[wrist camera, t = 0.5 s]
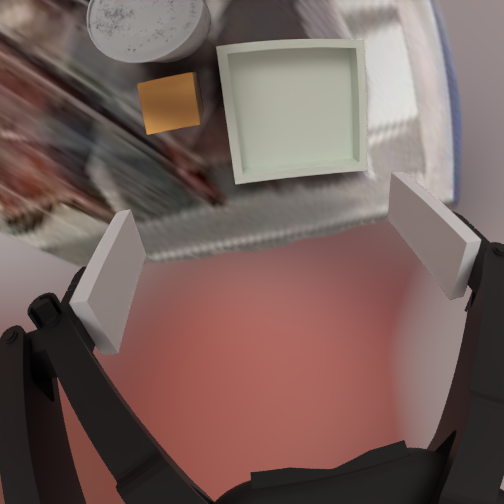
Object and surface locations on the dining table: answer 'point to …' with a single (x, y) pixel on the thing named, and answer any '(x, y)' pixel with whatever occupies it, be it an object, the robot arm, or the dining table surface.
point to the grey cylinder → (148, 28)
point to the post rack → (171, 102)
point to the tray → (295, 107)
